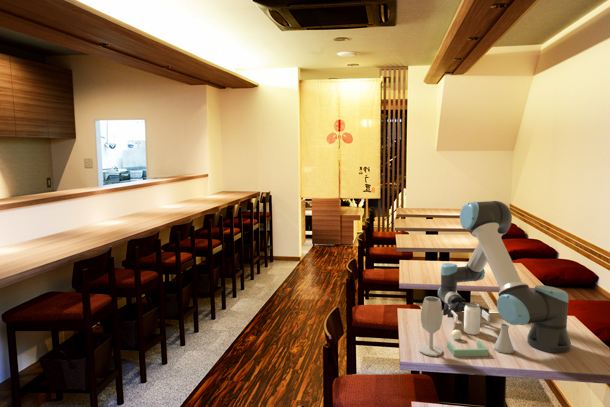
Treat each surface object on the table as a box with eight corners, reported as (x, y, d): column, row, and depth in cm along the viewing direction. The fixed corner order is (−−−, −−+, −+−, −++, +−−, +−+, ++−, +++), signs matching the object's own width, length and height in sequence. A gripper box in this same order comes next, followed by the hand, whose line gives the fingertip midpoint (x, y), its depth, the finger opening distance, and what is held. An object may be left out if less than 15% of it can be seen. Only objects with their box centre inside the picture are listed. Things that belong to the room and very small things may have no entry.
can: (480, 336, 185) (480, 308, 184) (463, 334, 187) (464, 306, 186) (479, 330, 191) (480, 303, 190) (463, 328, 193) (464, 301, 192)
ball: (462, 338, 183) (463, 329, 182) (460, 342, 180) (460, 332, 179) (452, 336, 185) (453, 327, 185) (450, 339, 182) (450, 330, 181)
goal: (446, 347, 175) (446, 341, 174) (479, 346, 175) (479, 340, 175) (453, 356, 167) (454, 350, 166) (488, 356, 167) (488, 349, 167)
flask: (510, 346, 175) (511, 321, 174) (516, 354, 168) (518, 328, 167) (491, 345, 176) (491, 321, 175) (497, 353, 169) (498, 328, 168)
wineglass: (415, 352, 171) (416, 299, 168) (425, 345, 177) (426, 293, 175) (436, 359, 165) (438, 304, 163) (446, 351, 172) (447, 298, 169)
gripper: (481, 309, 209) (501, 326, 188) (428, 310, 209) (443, 327, 188) (481, 293, 208) (502, 309, 187) (429, 294, 208) (443, 310, 187)
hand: (472, 318), depth 187 cm, fingers open, 13 cm apart
